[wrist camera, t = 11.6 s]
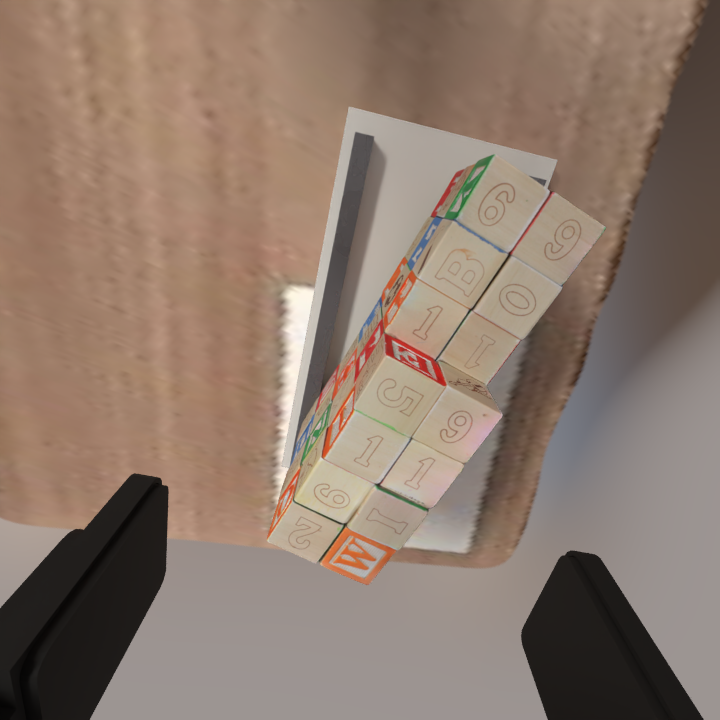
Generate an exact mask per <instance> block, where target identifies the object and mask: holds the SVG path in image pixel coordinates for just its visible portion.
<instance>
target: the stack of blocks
mask: <svg viewBox="0 0 720 720" xmlns="http://www.w3.org/2000/svg"><path fill="white" fill-rule="evenodd" d="M605 229H606V227H605V226H604V225H602V224H601V223H600V222H598V221H597V220H595V219H594V218H592V217H591V216H589V215H588V214H586V213H585V212H583V211H582V210H580V209H579V208H577V207H576V206H574V205H573V204H571V203H570V202H569V201H567V200H566V199H564V198H563V197H561V196H560V195H558V194H557V193H555V192H551V191H549V190H548V189H547V188H546V187H544V186H543V185H541V184H540V183H538V182H537V181H536V180H534V179H533V178H531V177H530V176H528V175H527V174H525V173H524V172H522V171H520V170H519V169H517V168H516V167H515V166H513V165H512V164H510V163H508V162H507V161H506V160H504V159H503V158H501V157H500V156H498V155H496V154H493V155H491V156H488V157H485V158H483V159H480V160H479V161H477V163H476V164H474V165H471V166H468V167H466V168H465V169H463V170H460V171H458V172H456V173H455V175H454V176H453V178H452V180H451V182H450V183H449V185H448V187H447V188H446V190H445V192H444V194H443V195H442V197H441V199H440V200H439V202H438V204H437V205H436V207H435V209H434V210H433V212H432V214H431V216H430V217H428V218H427V219H426V221H425V223H424V224H423V226H422V228H421V229H420V231H419V233H418V234H417V236H416V238H415V239H414V241H413V243H412V244H411V246H410V247H409V249H408V251H407V252H406V255H405V257H404V258H403V259H402V261H401V262H400V264H399V265H398V267H397V269H396V270H395V272H394V274H393V275H392V277H391V278H390V280H389V282H388V283H387V285H386V287H385V288H384V290H383V292H382V295H381V297H380V299H379V300H378V302H377V304H376V305H375V307H374V309H373V310H372V312H371V313H370V315H369V317H368V318H367V320H366V322H365V323H364V325H363V326H362V328H361V330H360V332H359V334H358V335H357V337H356V338H355V340H354V342H353V343H352V345H351V347H350V348H349V350H348V352H347V353H346V355H345V357H344V358H343V360H342V362H341V363H340V364H339V365H338V366H337V368H336V369H335V371H334V373H333V374H332V376H331V378H330V379H329V381H328V382H327V384H326V386H325V387H324V389H323V391H322V392H321V394H320V396H319V397H318V398H317V400H316V401H315V403H314V405H313V406H312V408H311V410H310V411H309V413H308V414H307V416H306V418H305V419H304V421H303V423H302V426H301V429H300V433H299V435H298V438H297V442H296V444H297V445H296V448H295V451H294V454H293V458H292V461H291V464H290V467H289V470H288V471H287V474H286V478H285V481H284V483H283V486H282V490H281V493H280V497H279V501H278V502H279V503H278V505H277V508H276V511H275V514H274V517H273V521H272V524H271V527H270V530H269V533H268V536H267V541H268V542H269V543H271V544H273V545H276V546H278V547H280V548H283V549H285V550H287V551H289V552H291V553H294V554H296V555H298V556H300V557H302V558H304V559H306V560H308V561H310V562H313V563H317V562H318V561H319V562H320V564H321V565H322V566H324V567H325V568H327V569H330V570H332V571H335V572H337V573H339V574H341V575H344V576H346V577H349V578H351V579H354V580H356V581H358V582H360V583H363V584H366V585H369V584H370V583H371V582H372V581H373V580H374V578H375V577H376V576H377V574H378V573H379V572H380V571H381V569H382V568H383V567H384V566H385V565H386V563H387V562H388V561H389V559H390V558H391V557H392V556H393V554H394V553H395V552H396V550H400V549H401V548H402V547H403V545H404V544H405V543H406V542H407V540H408V539H409V538H410V536H411V535H412V534H413V532H414V531H415V530H416V529H417V527H418V526H419V525H420V523H421V522H422V521H423V519H424V518H425V517H426V515H427V514H428V509H429V508H432V507H434V506H435V505H436V504H437V502H438V501H439V500H440V499H441V497H442V496H443V495H444V493H445V492H446V491H447V489H448V488H449V487H450V486H451V484H452V483H453V482H454V480H455V479H456V478H457V476H458V475H459V474H460V473H461V471H462V470H463V468H464V464H465V463H466V462H468V461H469V460H470V458H471V457H472V456H473V454H474V453H475V452H476V451H477V449H478V448H479V447H480V445H481V444H482V443H483V441H484V440H485V439H486V438H487V436H488V435H489V434H490V432H491V431H492V430H493V428H494V427H495V426H496V424H497V423H498V422H499V421H500V419H501V418H502V416H503V414H502V412H501V411H500V409H499V407H498V405H497V404H496V402H495V400H494V398H493V397H492V395H491V393H490V392H489V390H488V388H487V385H488V384H489V382H490V381H491V380H492V378H493V377H494V376H495V374H496V373H497V372H498V371H499V369H500V368H501V367H502V365H503V364H504V363H505V361H506V360H507V359H508V357H509V356H510V355H511V353H512V352H513V351H514V349H515V348H516V347H517V345H518V344H519V343H520V341H521V340H523V339H525V338H526V336H527V335H528V334H529V332H530V331H531V330H532V328H533V327H534V326H535V324H536V323H537V322H538V321H539V319H540V318H541V317H542V315H543V314H544V313H545V311H546V310H547V309H548V307H549V306H550V305H551V303H552V302H553V301H554V299H555V298H556V297H557V296H558V294H559V293H560V292H561V290H562V288H563V287H562V285H563V284H564V283H565V282H566V280H567V279H568V278H569V277H570V275H571V274H572V273H573V272H574V270H575V269H576V268H577V266H578V265H579V264H580V262H581V261H582V260H583V258H584V257H585V256H586V255H587V253H588V252H589V251H590V249H591V248H592V246H593V245H594V244H595V243H596V241H597V240H598V239H599V237H600V236H601V235H602V233H603V232H604V231H605Z"/></svg>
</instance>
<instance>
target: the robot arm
mask: <svg viewBox="0 0 720 720" xmlns="http://www.w3.org/2000/svg"><path fill="white" fill-rule="evenodd" d="M167 521H168V486H164V485H162V480H161V478H158V477H153V476H147V475H141V474H132V475H131V476H130V477H129V478H128V479H127V480H126V481H125V482H124V484H123V485H122V486H121V487H120V488H119V489H118V491H117V492H116V493H115V494H114V495H113V496H112V498H111V499H110V500H109V501H108V502H107V503H106V505H105V506H104V507H103V508H102V509H101V510H100V512H99V513H98V514H97V515H96V516H95V517H94V519H93V520H92V521H91V522H90V523H89V524H88V526H87V527H86V528H85V529H84V530H82V529H75V530H73V531H71V532H70V533H68V534H67V535H66V536H65V537H64V538H63V539H62V540H61V541H60V542H59V543H58V545H57V546H56V547H55V548H54V549H53V550H52V551H51V552H50V553H49V555H48V556H47V557H46V558H45V559H44V560H43V561H42V562H41V563H40V565H39V566H38V567H37V568H36V569H35V570H34V571H33V573H32V574H31V575H30V576H29V577H28V578H27V579H26V580H25V581H24V582H23V583H22V585H21V586H20V587H19V588H18V589H17V590H16V591H15V592H14V594H13V595H12V596H11V597H10V598H9V599H8V600H7V601H6V602H5V604H4V605H3V606H2V607H1V608H0V720H90V718H91V716H92V714H93V712H94V710H95V708H96V706H97V705H98V703H99V701H100V699H101V697H102V695H103V694H104V692H105V690H106V688H107V686H108V684H109V682H110V680H111V679H112V677H113V675H114V673H115V671H116V669H117V667H118V666H119V664H120V662H121V660H122V658H123V656H124V654H125V652H126V651H127V649H128V647H129V645H130V643H131V641H132V639H133V638H134V636H135V634H136V632H137V630H138V628H139V626H140V624H141V623H142V621H143V619H144V617H145V615H146V613H147V611H148V609H149V608H150V606H151V604H152V602H153V600H154V598H155V596H156V595H157V593H158V591H159V589H160V587H161V585H162V582H163V580H164V576H165V572H166V551H167ZM521 638H522V645H523V648H524V651H525V654H526V657H527V660H528V663H529V666H530V669H531V671H532V675H533V677H534V681H535V683H536V686H537V689H538V692H539V695H540V698H541V701H542V704H543V707H544V710H545V713H546V716H547V718H548V720H703V718H702V716H701V715H700V713H699V712H698V710H697V708H696V707H695V705H694V704H693V702H692V701H691V699H690V697H689V696H688V694H687V693H686V691H685V690H684V688H683V687H682V685H681V684H680V682H679V680H678V679H677V677H676V676H675V674H674V673H673V671H672V670H671V668H670V666H669V665H668V663H667V662H666V660H665V659H664V657H663V655H662V654H661V652H660V651H659V649H658V647H657V646H656V644H655V643H654V642H653V640H652V638H651V637H650V635H649V633H648V632H647V630H646V629H645V627H644V626H643V624H642V623H641V621H640V619H639V618H638V616H637V615H636V613H635V612H634V610H633V609H632V607H631V605H630V604H629V602H628V601H627V599H626V597H625V596H624V594H623V593H622V591H621V590H620V588H619V587H618V585H617V583H616V582H615V580H614V579H613V577H612V576H611V574H610V573H609V571H608V569H607V568H606V566H605V565H604V563H603V562H602V560H601V559H600V558H599V557H598V556H597V555H595V554H589V553H583V552H578V551H569V552H567V553H566V555H565V556H561V557H560V558H559V560H558V562H557V564H556V566H555V568H554V570H553V571H552V573H551V575H550V577H549V579H548V581H547V583H546V584H545V586H544V588H543V590H542V592H541V594H540V596H539V598H538V600H537V602H536V604H535V605H534V608H533V609H532V611H531V613H530V615H529V617H528V619H527V621H526V623H525V625H524V627H523V629H522V634H521Z"/></svg>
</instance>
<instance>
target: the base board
mask: <svg viewBox="0 0 720 720" xmlns="http://www.w3.org/2000/svg"><path fill="white" fill-rule="evenodd" d="M493 154H496V155H498V156H500V157H501V158H503V159H504V160H506V161H507V162H508V163H510V164H512V165H513V166H515V167H516V168H517V169H519V170H520V171H522V172H524V173H525V174H527V175H528V176H530V177H531V178H533V179H534V180H536V181H537V182H538V183H540V184H541V185H543V186H544V187H546V188H548V185H549V183H550V180H551V177H552V174H553V172H554V169H555V166H556V163H557V161H558V160H556V159H552V158H548V157H544V156H540V155H536V154H532V153H528V152H525V151H521V150H517V149H513V148H509V147H505V146H501V145H497V144H493V143H490V142H486V141H482V140H478V139H474V138H470V137H466V136H462V135H458V134H454V133H451V132H447V131H443V130H439V129H435V128H431V127H427V126H423V125H419V124H416V123H412V122H408V121H404V120H400V119H396V118H392V117H388V116H384V115H380V114H377V113H373V112H369V111H365V110H361V109H357V108H353V107H349V109H348V114H347V119H346V125H345V130H344V135H343V141H342V146H341V151H340V157H339V162H338V167H337V173H336V178H335V183H334V189H333V194H332V199H331V205H330V210H329V215H328V221H327V226H326V231H325V237H324V242H323V247H322V253H321V258H320V263H319V269H318V274H317V279H316V285H315V290H314V295H313V301H312V306H311V311H310V317H309V322H308V328H307V333H306V338H305V344H304V349H303V354H302V360H301V365H300V370H299V376H298V381H297V386H296V392H295V397H294V402H293V408H292V413H291V418H290V424H289V429H288V434H287V440H286V445H285V450H284V456H283V461H282V467H287V468H289V467H290V464H291V461H292V458H293V454H294V451H295V448H296V445H297V444H296V442H297V438H298V435H299V433H300V429H301V426H302V423H303V421H304V419H305V418H306V416H307V414H308V413H309V411H310V410H311V408H312V406H313V405H314V403H315V401H316V400H317V398H318V397H319V396H320V394H321V392H322V391H323V389H324V387H325V386H326V384H327V382H328V381H329V379H330V378H331V376H332V374H333V373H334V371H335V369H336V368H337V366H338V365H339V364H340V363H341V362H342V360H343V358H344V357H345V355H346V353H347V352H348V350H349V348H350V347H351V345H352V343H353V342H354V340H355V338H356V337H357V335H358V334H359V332H360V330H361V328H362V326H363V325H364V323H365V322H366V320H367V318H368V317H369V315H370V313H371V312H372V310H373V309H374V307H375V305H376V304H377V302H378V300H379V299H380V297H381V295H382V292H383V290H384V288H385V287H386V285H387V283H388V282H389V280H390V278H391V277H392V275H393V274H394V272H395V270H396V269H397V267H398V265H399V264H400V262H401V261H402V259H403V258H404V257H405V255H406V252H407V251H408V249H409V247H410V246H411V244H412V243H413V241H414V239H415V238H416V236H417V234H418V233H419V231H420V229H421V228H422V226H423V224H424V223H425V221H426V219H427V218H428V217H430V216H431V214H432V212H433V210H434V209H435V207H436V205H437V204H438V202H439V200H440V199H441V197H442V195H443V194H444V192H445V190H446V188H447V187H448V185H449V183H450V182H451V180H452V178H453V176H454V175H455V173H456V172H458V171H460V170H463V169H465V168H466V167H468V166H471V165H474V164H476V163H477V161H479V160H480V159H483V158H485V157H488V156H491V155H493Z"/></svg>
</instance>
